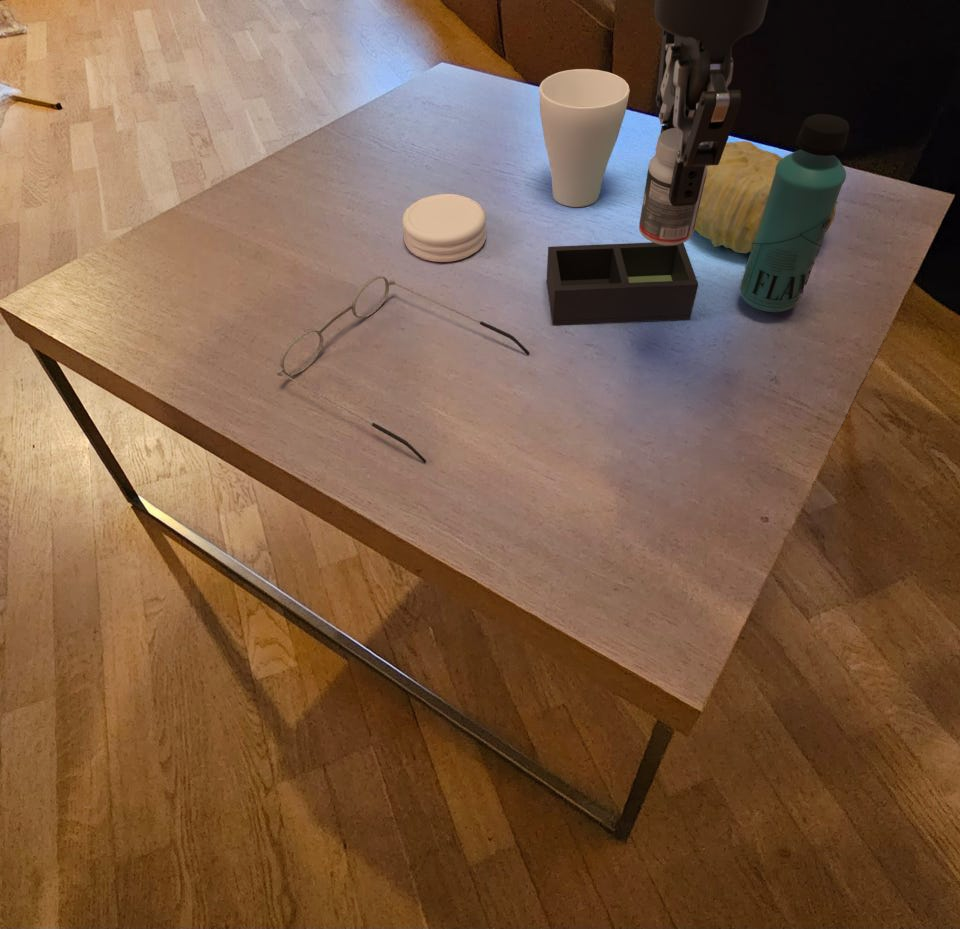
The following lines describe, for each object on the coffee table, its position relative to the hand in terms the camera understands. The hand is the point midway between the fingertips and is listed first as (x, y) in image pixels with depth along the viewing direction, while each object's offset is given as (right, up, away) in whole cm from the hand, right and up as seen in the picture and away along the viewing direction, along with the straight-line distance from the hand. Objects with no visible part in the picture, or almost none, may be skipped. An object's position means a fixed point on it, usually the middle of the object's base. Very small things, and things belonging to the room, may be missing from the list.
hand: (674, 184), depth 60 cm
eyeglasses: (-24, -14, +14) cm, 31 cm away
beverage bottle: (+15, -6, +19) cm, 25 cm away
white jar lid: (-21, +4, +28) cm, 35 cm away
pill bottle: (0, -3, +4) cm, 5 cm away
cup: (-4, +12, +34) cm, 36 cm away
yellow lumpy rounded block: (+16, +5, +28) cm, 32 cm away
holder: (-1, -5, +20) cm, 21 cm away
